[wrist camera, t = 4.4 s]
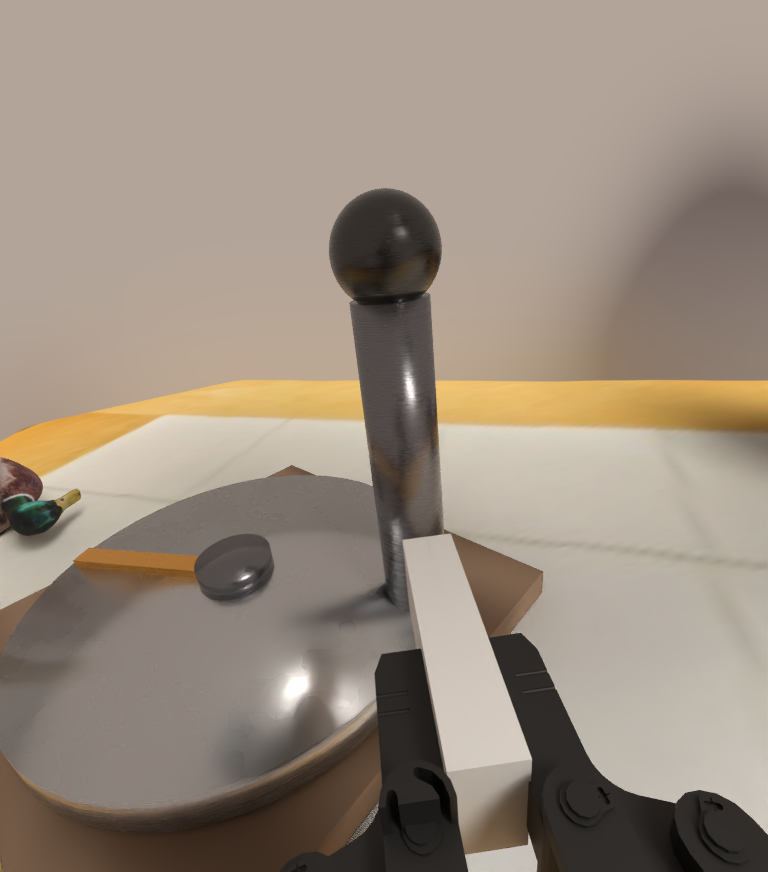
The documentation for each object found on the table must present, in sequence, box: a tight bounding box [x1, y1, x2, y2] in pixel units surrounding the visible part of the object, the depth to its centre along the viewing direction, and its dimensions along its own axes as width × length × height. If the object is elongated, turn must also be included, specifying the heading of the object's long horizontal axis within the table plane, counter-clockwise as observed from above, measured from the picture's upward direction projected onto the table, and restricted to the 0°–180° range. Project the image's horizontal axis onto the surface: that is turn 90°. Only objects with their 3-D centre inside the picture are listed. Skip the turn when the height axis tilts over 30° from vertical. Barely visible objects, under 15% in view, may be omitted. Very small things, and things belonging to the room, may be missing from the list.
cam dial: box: [0, 188, 444, 833], centre depth 22 cm, size 23×22×19 cm
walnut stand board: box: [0, 465, 543, 872], centre depth 25 cm, size 24×24×4 cm
